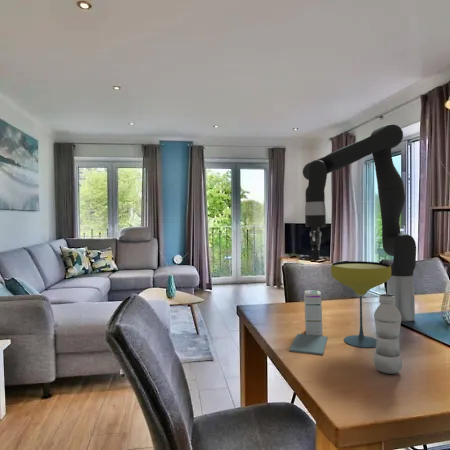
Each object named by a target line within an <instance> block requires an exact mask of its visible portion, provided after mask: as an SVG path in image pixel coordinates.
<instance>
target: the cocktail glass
mask: <svg viewBox="0 0 450 450" xmlns="http://www.w3.org/2000/svg"><path fill="white" fill-rule="evenodd" d="M330 273H331V276H332V278H334V279H335V281H337V282H339V283H340V284H342V285H345V286H347V287H348V288H349V289H352V290H353V291H354V293H355V294H356V295H357V296H358V297H359V334H358V335H357V334H354V335H353V334H352V335H348V336H345V337H344V338H343V341H344V343H345V344H347V345H349V346H351V345H352V346H353V347H356V348H363V349H370V348H373V349H374V348H376V341H377V339H376V338H374V337H372V336H368V335H364V334H365V333H364V330H363V328H364V327H363V298H362V297H364V296H365V295H366V294H367V293H368V292H369V291H370V290H371V289H374V288H376V287H379V286H381V285H383V284H385V283H387V281H388V280H389V279H390V277H391V264H388V263H383V262H375V261H365V260H364V261H357V260H352V261H350V260H349V261H337V262H333V263H332V264H331V266H330ZM352 346H351V347H352Z"/></svg>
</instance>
